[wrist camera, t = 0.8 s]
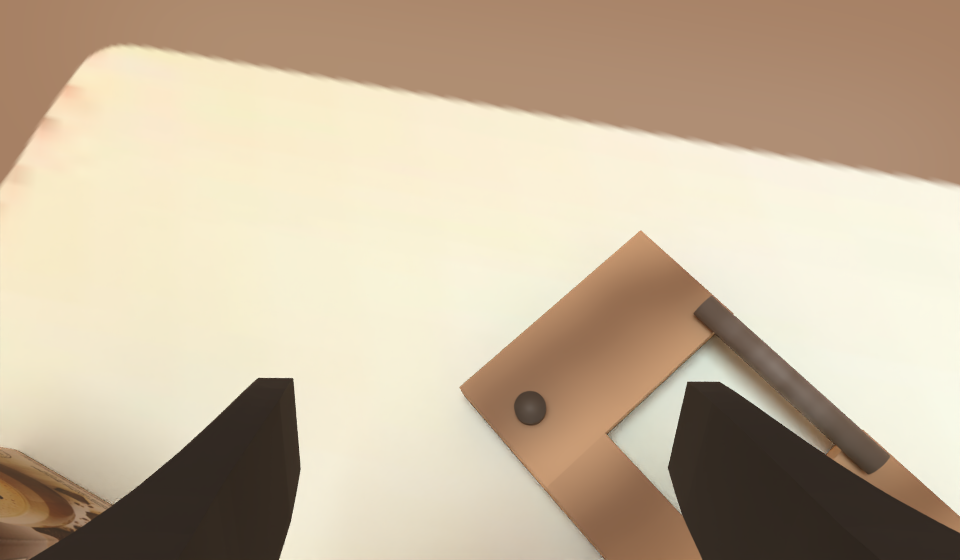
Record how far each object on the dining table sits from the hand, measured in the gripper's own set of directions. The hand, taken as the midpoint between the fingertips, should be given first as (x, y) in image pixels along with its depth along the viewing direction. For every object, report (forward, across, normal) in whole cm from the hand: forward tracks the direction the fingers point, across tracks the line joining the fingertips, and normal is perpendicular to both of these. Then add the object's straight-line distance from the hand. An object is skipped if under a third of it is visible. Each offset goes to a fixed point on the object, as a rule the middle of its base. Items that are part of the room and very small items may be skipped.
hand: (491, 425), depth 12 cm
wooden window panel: (+10, -9, +9) cm, 16 cm away
